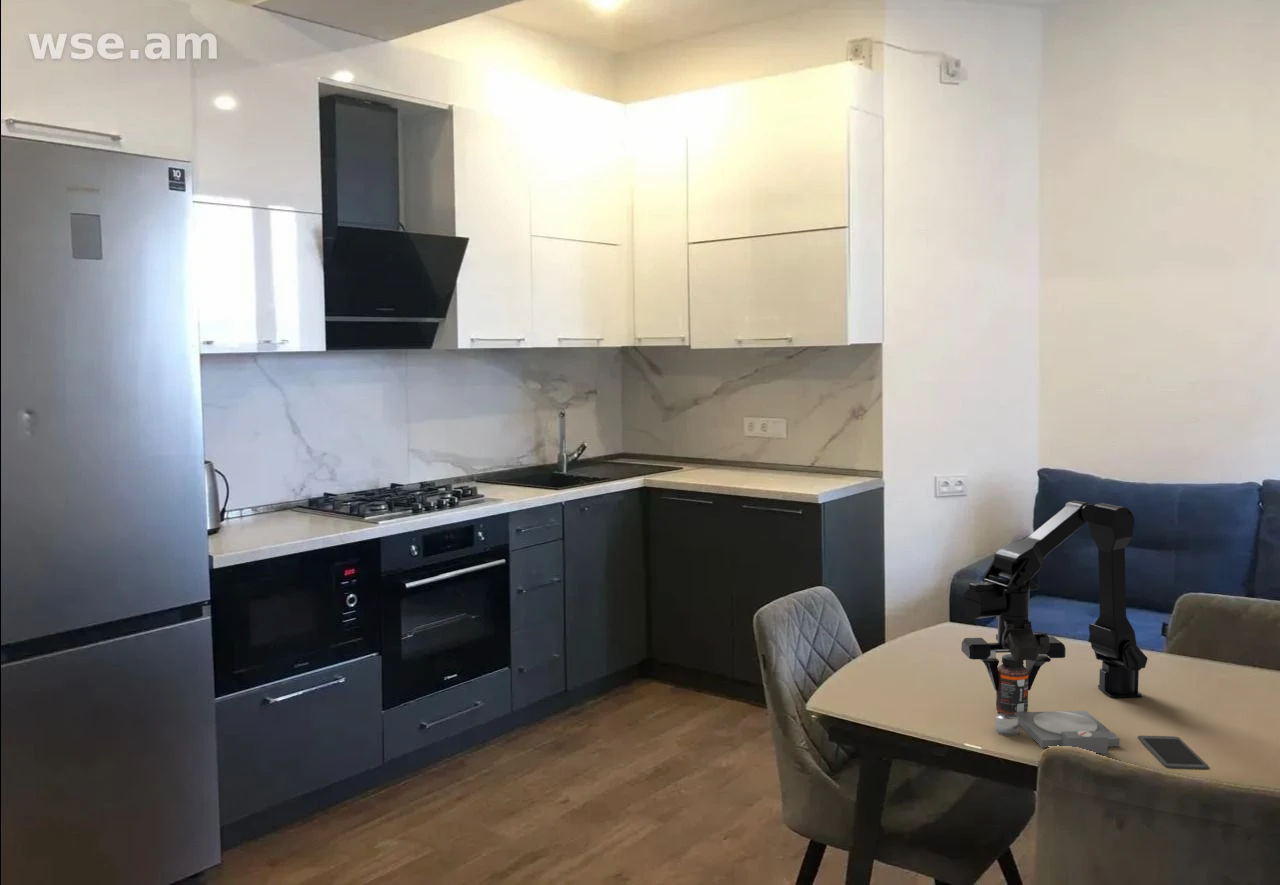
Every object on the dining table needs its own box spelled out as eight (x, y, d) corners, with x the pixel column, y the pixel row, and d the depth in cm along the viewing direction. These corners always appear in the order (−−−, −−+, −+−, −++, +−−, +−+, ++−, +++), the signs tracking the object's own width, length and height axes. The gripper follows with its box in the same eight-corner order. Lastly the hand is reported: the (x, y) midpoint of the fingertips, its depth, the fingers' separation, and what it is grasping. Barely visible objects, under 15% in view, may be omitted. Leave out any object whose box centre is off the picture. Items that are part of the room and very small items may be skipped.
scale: (1086, 718, 200) (1086, 701, 200) (1127, 753, 183) (1127, 735, 183) (1014, 719, 200) (1014, 703, 200) (1048, 754, 183) (1048, 736, 183)
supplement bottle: (1030, 718, 200) (1031, 662, 199) (998, 716, 202) (999, 660, 200) (1025, 707, 206) (1026, 652, 205) (994, 706, 207) (994, 651, 206)
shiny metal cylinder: (1013, 728, 196) (1013, 712, 196) (1021, 736, 192) (1021, 720, 192) (992, 728, 196) (992, 713, 196) (999, 736, 192) (1000, 720, 192)
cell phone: (1177, 740, 189) (1177, 736, 189) (1210, 771, 176) (1210, 767, 176) (1136, 738, 190) (1136, 734, 190) (1165, 770, 176) (1165, 766, 176)
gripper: (979, 625, 194) (978, 705, 195) (1078, 623, 194) (1076, 703, 195) (961, 609, 205) (960, 685, 207) (1054, 608, 205) (1053, 684, 206)
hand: (1012, 690), depth 203 cm, fingers closed on supplement bottle, 6 cm apart
